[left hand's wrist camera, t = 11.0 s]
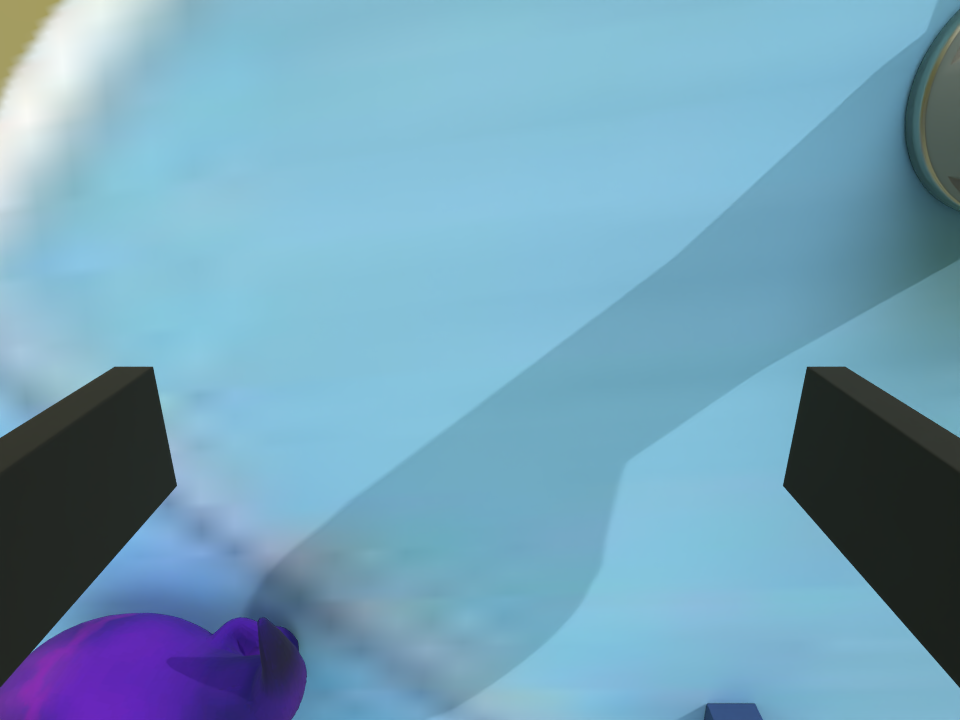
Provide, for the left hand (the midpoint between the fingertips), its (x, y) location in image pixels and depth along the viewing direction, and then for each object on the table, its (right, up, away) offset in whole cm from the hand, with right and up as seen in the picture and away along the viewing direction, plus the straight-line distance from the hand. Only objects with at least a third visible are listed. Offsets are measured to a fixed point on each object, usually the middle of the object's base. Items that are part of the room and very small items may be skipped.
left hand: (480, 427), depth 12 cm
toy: (-25, -22, +42) cm, 54 cm away
